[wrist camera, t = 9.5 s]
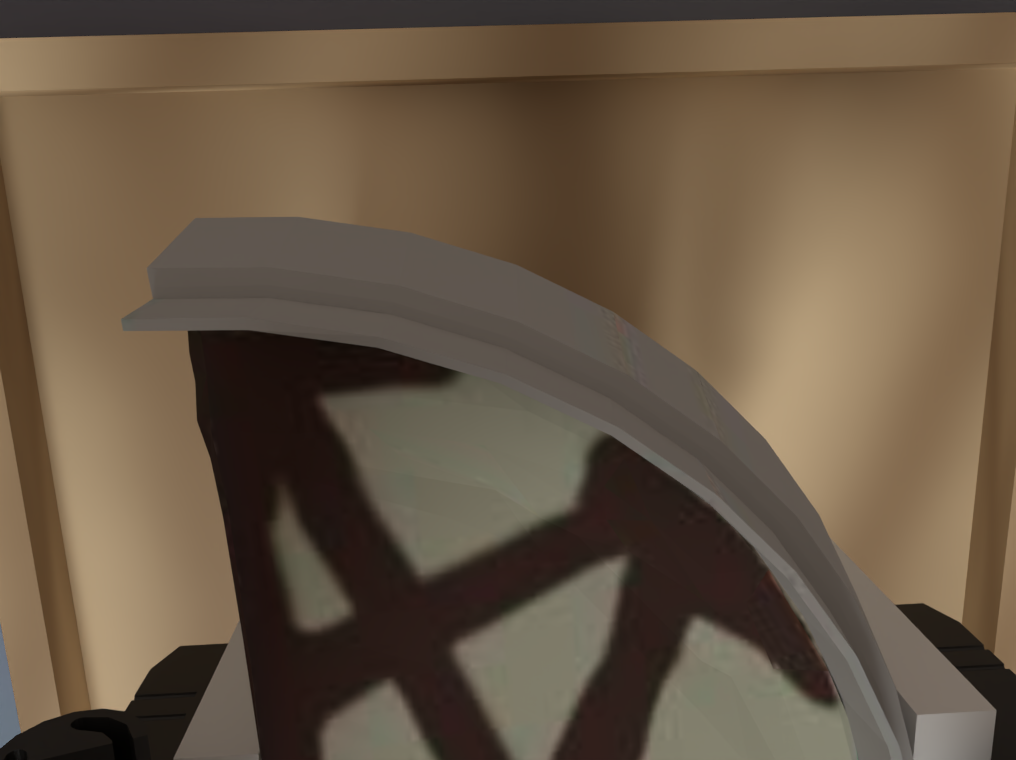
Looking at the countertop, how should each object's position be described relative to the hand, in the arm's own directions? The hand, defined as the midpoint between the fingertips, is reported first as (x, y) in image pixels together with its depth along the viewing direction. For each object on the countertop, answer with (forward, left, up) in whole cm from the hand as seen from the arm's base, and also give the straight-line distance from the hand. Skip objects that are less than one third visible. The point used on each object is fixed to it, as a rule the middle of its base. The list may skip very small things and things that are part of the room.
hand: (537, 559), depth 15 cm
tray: (0, 0, -4) cm, 4 cm away
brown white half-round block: (0, 0, -3) cm, 3 cm away
